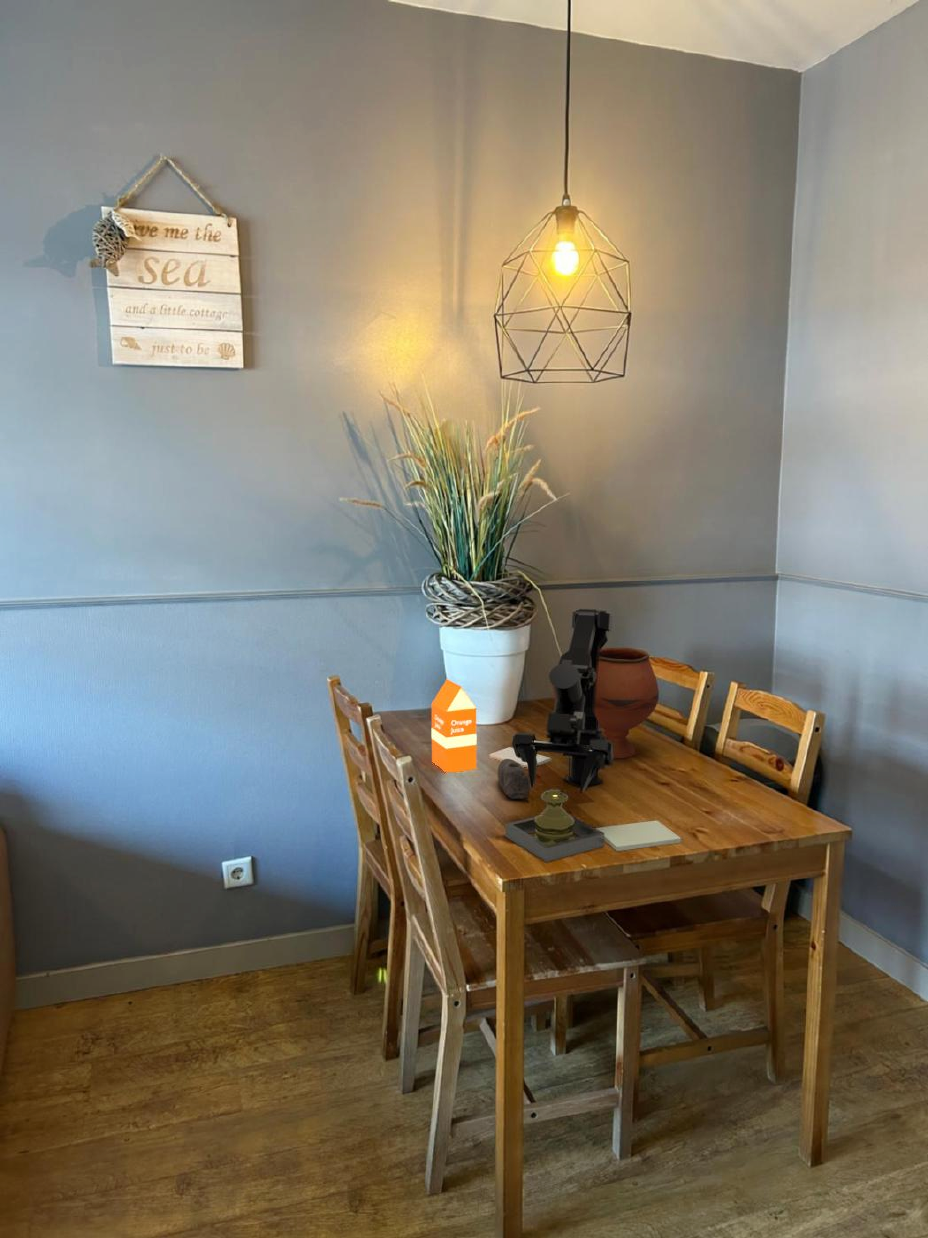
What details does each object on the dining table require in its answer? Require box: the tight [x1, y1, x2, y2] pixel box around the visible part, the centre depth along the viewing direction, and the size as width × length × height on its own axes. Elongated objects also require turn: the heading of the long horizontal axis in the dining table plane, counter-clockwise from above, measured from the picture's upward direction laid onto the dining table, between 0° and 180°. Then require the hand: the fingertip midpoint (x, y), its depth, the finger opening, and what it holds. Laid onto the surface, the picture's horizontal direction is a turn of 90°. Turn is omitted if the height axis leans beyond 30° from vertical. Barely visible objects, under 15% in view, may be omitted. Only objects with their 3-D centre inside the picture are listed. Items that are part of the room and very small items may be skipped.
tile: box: [594, 820, 682, 852], centre depth 165 cm, size 13×9×1 cm
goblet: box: [595, 647, 660, 759], centre depth 213 cm, size 19×19×25 cm
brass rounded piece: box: [533, 788, 575, 845], centre depth 162 cm, size 7×7×10 cm
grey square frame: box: [504, 816, 605, 863], centre depth 163 cm, size 13×13×2 cm
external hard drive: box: [488, 746, 552, 769], centre depth 210 cm, size 2×8×12 cm
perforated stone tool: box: [497, 759, 531, 800], centre depth 188 cm, size 15×5×7 cm, turn 10°
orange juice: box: [430, 678, 477, 774], centre depth 204 cm, size 8×9×20 cm
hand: (556, 789), depth 163 cm, fingers open, 9 cm apart
